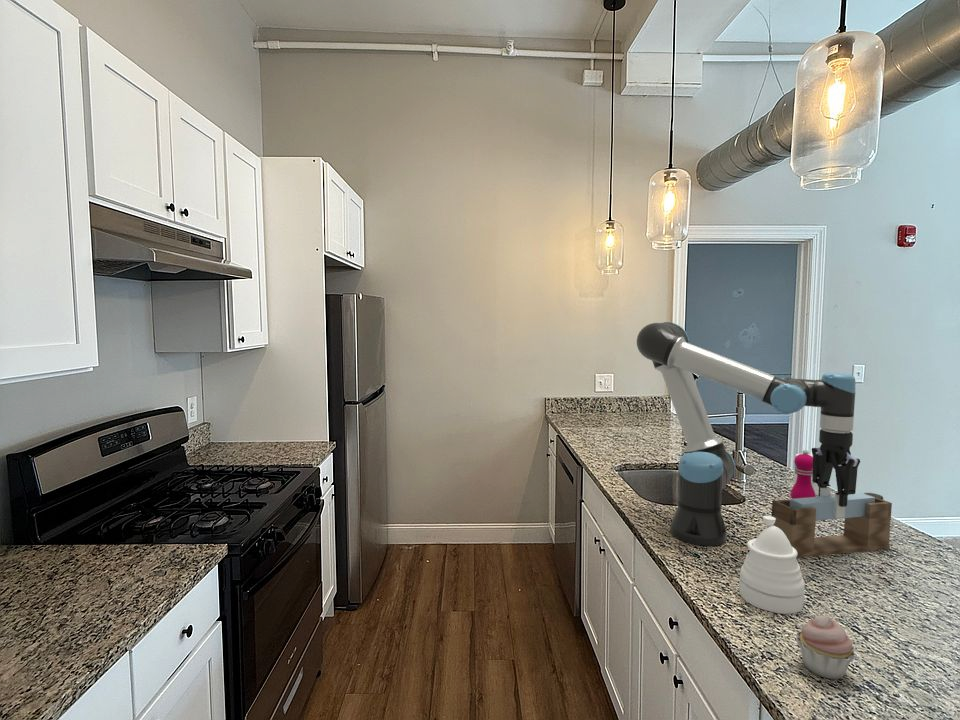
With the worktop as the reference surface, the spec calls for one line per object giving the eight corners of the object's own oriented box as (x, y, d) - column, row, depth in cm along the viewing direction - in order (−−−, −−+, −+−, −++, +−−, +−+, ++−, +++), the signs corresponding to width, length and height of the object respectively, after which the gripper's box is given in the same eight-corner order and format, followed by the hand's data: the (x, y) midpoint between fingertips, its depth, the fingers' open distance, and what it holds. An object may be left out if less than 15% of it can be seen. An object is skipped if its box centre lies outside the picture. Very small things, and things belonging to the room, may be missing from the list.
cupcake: (848, 694, 89) (852, 638, 88) (787, 667, 95) (790, 615, 95) (861, 669, 95) (864, 616, 94) (802, 645, 102) (805, 596, 101)
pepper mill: (790, 510, 173) (793, 451, 172) (789, 503, 180) (792, 446, 178) (816, 514, 170) (819, 453, 168) (814, 507, 176) (817, 448, 175)
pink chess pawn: (792, 493, 190) (794, 454, 189) (802, 491, 193) (804, 452, 191) (808, 498, 185) (810, 458, 184) (818, 495, 188) (820, 456, 186)
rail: (800, 522, 140) (801, 504, 140) (789, 516, 144) (789, 499, 144) (873, 515, 145) (875, 497, 145) (860, 510, 149) (861, 492, 149)
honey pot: (728, 584, 125) (731, 511, 124) (779, 582, 126) (783, 509, 125) (760, 614, 112) (764, 533, 111) (817, 612, 113) (822, 532, 112)
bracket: (791, 558, 139) (793, 510, 138) (769, 545, 146) (771, 500, 145) (889, 549, 144) (892, 503, 143) (863, 537, 152) (866, 493, 151)
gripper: (877, 436, 135) (871, 524, 137) (821, 423, 152) (817, 502, 154) (852, 437, 134) (847, 527, 135) (799, 424, 150) (795, 503, 152)
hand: (831, 513), depth 144 cm, fingers closed on rail, 4 cm apart
